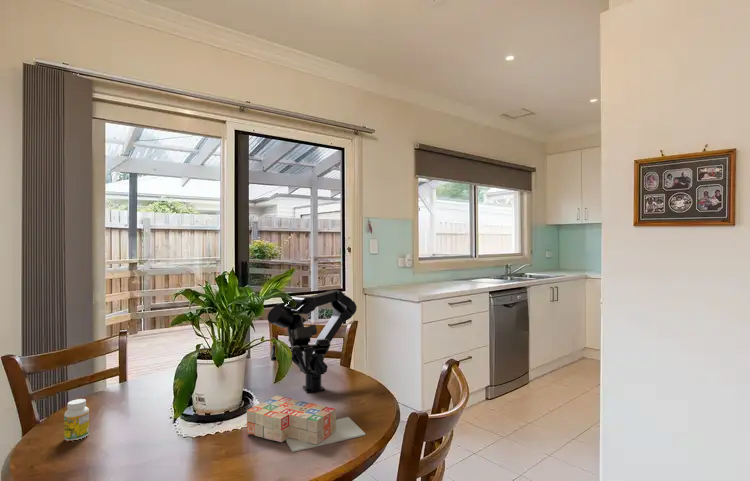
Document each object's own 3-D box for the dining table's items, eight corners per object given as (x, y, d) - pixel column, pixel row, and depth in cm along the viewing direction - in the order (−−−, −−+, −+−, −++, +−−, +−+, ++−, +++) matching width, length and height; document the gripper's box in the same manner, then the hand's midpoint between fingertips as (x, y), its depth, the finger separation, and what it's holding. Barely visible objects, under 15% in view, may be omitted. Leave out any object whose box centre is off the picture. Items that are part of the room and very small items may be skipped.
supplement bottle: (93, 434, 110) (94, 398, 110) (73, 443, 104) (74, 406, 105) (79, 431, 111) (79, 396, 111) (58, 440, 106) (59, 404, 106)
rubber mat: (281, 432, 110) (281, 430, 110) (348, 418, 119) (348, 417, 119) (292, 452, 100) (292, 450, 100) (365, 435, 108) (365, 433, 108)
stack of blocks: (336, 407, 110) (310, 425, 99) (336, 430, 110) (310, 451, 99) (276, 395, 120) (245, 410, 109) (276, 416, 120) (245, 433, 109)
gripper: (272, 318, 126) (280, 363, 116) (328, 314, 134) (340, 355, 124) (266, 339, 132) (274, 382, 122) (320, 333, 141) (331, 374, 131)
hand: (306, 373), depth 125 cm, fingers closed
